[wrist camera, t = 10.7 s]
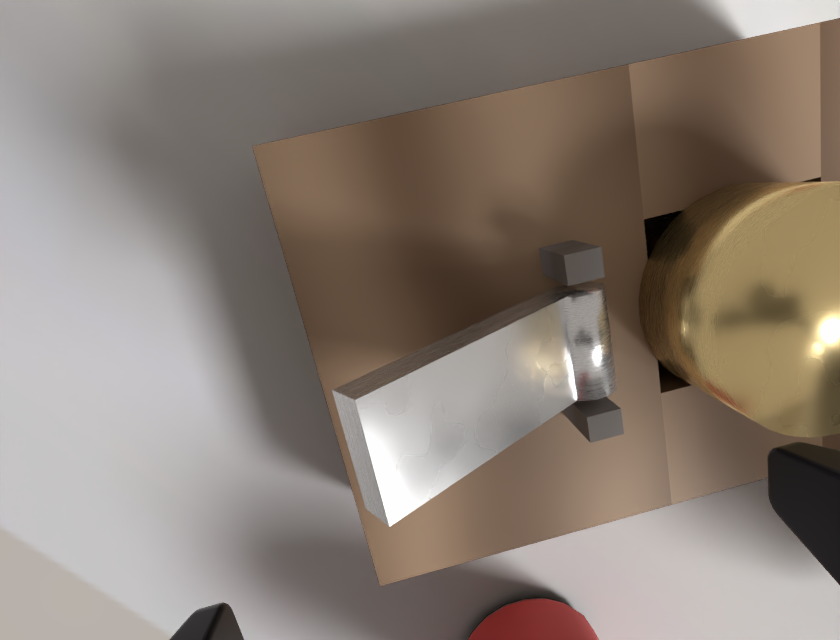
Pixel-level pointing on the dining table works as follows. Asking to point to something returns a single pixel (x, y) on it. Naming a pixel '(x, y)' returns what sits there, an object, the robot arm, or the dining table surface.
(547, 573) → the dining table surface
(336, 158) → the brown rectangular block
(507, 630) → the beer can
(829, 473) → the robot arm
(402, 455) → the latch bar
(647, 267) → the brass pin
